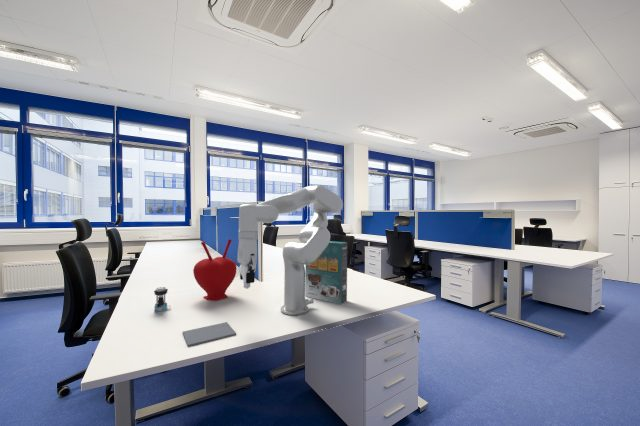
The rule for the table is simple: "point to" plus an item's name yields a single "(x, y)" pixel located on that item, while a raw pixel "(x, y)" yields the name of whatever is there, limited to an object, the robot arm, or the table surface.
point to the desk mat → (208, 333)
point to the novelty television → (215, 274)
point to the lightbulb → (244, 274)
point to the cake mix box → (328, 274)
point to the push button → (160, 299)
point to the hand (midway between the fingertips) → (247, 280)
